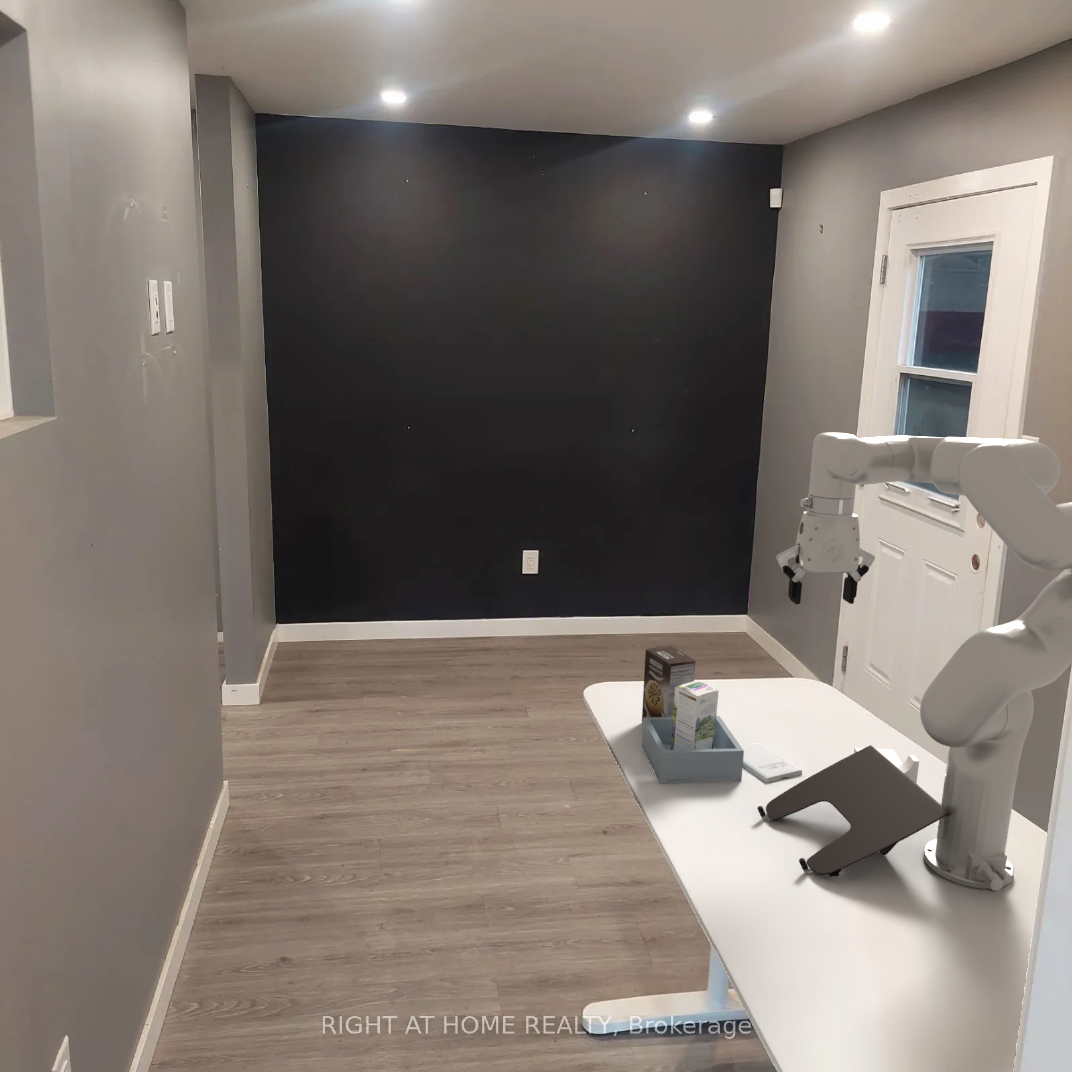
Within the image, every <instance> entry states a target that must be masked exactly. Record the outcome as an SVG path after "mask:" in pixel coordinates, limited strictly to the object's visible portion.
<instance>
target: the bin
mask: <svg viewBox="0 0 1072 1072" xmlns="http://www.w3.org/2000/svg"><path fill="white" fill-rule="evenodd" d="M672 723H673V717H648V718H643V723H642V732H641V733H642V735H641V747H642V750H643V752H644V754H645V755H646V758H648V759H647V760H649V761H648V762H649V765H650V764H651V765H650V766H652V767H651V769H652V768H653V769H652V771H653V770H654V771H653V773H654V775H655V777H656V779H658V780H657V781H659V782H658V784H659V783H673V784H702V783H704V784H705V783H706V784H709V783H736V782H738V783H739V782H742V779H743V778H742V776H743V768H744V767H743V756H744V750H743V749H742V747H741V746H742V745H740V743H739V742H738V741H737V739H736V738H735V736H734V735H733V733H732V732H731V730H730V729H729V728H728V726H727V725H726V723H725V721H724V720H723V719H722V718H721V717H720V715H716V726H715V736H714V747H713V749H692V750H670V748H671V736H672Z"/></svg>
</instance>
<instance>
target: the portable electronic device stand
mask: <svg viewBox="0 0 1072 1072" xmlns="http://www.w3.org/2000/svg"><path fill="white" fill-rule="evenodd" d="M863 748H864V749H862V750H860V751H858V752H856V753H854V752H853V753H852V754H849V755H848V756H847V757H844V758H842V759H840V760H839V761H837V762H834V763H833V764H831V765H829V766H828V767H825V768H824V769H822V770H820V771H818V772H816V773H815V774H813V775H811V776H809V777H807V778H805V779H803V780H802V781H800V782H798V783H796V785H793V786H792V787H790V788H789V789H787V790H785V791H783V792H782V793H781V794H779V795H777V796H776V797H775V798H773V799H771V800H770V801H769V802H767V804H766V806H765V809H764V807H763V806H762V805H759V806H757V811H758V813H759V816H760V817H761V819H762V820H763V821H766V822H767V821H777V820H780V819H782V818H785V817H787V816H788V817H789V816H790V815H792V814H796V813H797V812H801V811H802V810H805V809H807V808H809V807H811V806H814V805H816V804H819V803H822V802H826V803H829V804H830V805H831V806H833V808H835V810H836V811H837V812H838V813H840V815H842V817H844V819H845V820H846V821H847V822H848V823H849V825H850V826H849V827H850V828H849V829H848V830H847V832H845V833H844V834H842V835H841V836H838V837H837V838H836V839H834V840H833V841H831V842H830V843H828V844H826V845H825V846H823V848H821V849H819V850H818V851H816V853H815V852H814V853H813V855H811V856H810V857H809V858H807V859H805V858H804V857H802V858H801V857H800V858H799V859H798V862H799V864H800V867H801V868H802V870H803V872H804V874H806V875H812V874H817V875H821V876H827V875H828V877H829V878H832V877H836V878H837V877H839V876H840V873H841V872H842V871H843V869H845V868H848V867H850V866H852V865H854V864H856V863H859V862H861V861H863V860H865V859H867V858H870V857H871V856H874V855H876V854H877V853H880V855H882V856H887V855H888V854H889V853H890V851H892V850H893V849H894V847H895V846H896V845H897V844H898V843H899V842H901V841H903V840H905V839H907V838H909V837H911V836H913V835H915V834H917V833H918V832H920V831H921V830H924V829H926V828H928V827H929V826H931V825H933V824H934V823H936V822H939V820H940V819H941V818H943V817H946V816H949V815H951V813H950V812H949V811H948V810H946V809H945V808H944V807H943V806H942V805H941V803H939V802H938V800H936V799H935V798H934V797H932V796H931V795H930V794H929V793H927V791H925V790H924V788H922V787H920V785H919V784H917V782H916V783H915V782H914V781H912V780H911V779H910V778H909V777H908V776H907V775H905V774H904V773H903V772H902V771H901V770H900V769H898V768H897V767H896V766H895V765H894V764H893V763H891V762H890V761H889V760H888V759H887V758H886V757H884V756H883V755H882V754H881V753H880V752H879V751H877V750H876V749H877V748H876V747H874V746H873V745H868V746H865V747H863Z"/></svg>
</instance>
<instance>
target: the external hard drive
mask: <svg viewBox="0 0 1072 1072" xmlns="http://www.w3.org/2000/svg"><path fill="white" fill-rule="evenodd" d="M740 746H741V747H742V749H743V750H744V756H743V768H745V769H746V770H747V771H749V773H752V774H753V775H755V776H756V777H757V778H759V779H760V780H762V781H764V782H765V783H767V784H768V783H771V782H775V781H780V780H782V779H785V778H786V779H788V778H792V777H797V776H801V775H802V774H803V770H802V769H801V768H799V767H797V766H796V765H795V764H793V763H791V762H790V761H788V760H787V759H786V758H784V757H782V756H780V755H779V754H778V753H776V752H775V751H773V750H772V749H770V748H768V747H767V746H766V745H764V744H763V743H761V742H758V741H756V742H753V743H748V744H747V743H746V744H743V745H740Z"/></svg>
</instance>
